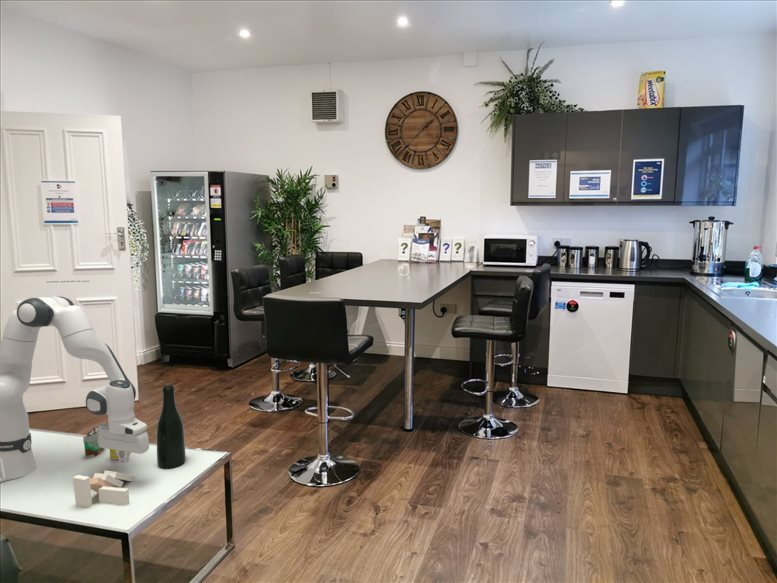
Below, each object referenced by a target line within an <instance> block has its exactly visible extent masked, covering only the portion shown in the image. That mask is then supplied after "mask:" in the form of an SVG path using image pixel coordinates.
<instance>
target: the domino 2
mask: <svg viewBox="0 0 777 583" xmlns="http://www.w3.org/2000/svg"><path fill="white" fill-rule="evenodd" d="M90 486H91V491H93V492H96V493H97V494H99V492H98V489H99V488H100V487H102V486H105V487H113V484H111V483H109V482H107V481H105V480H103V479H101V478H99V477H96V478H93V477H90Z"/></svg>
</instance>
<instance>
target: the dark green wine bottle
mask: <svg viewBox="0 0 777 583" xmlns="http://www.w3.org/2000/svg"><path fill="white" fill-rule="evenodd" d="M161 390H162V391H161V392H162V406H161V411H160V414H159V418H158V421H157V423H156V436H155V437H156V463H157V468H159V469H161V470H172V469H173V470H174V469H176V468H179V467H182V466H183V465H185V463H186V462H187V458H186V441H185V427H184V422H183V419H182V417H181V415H180V413H179V411H178V408H177V403H176V398H175V397H176V395H175V392H176V391H175V386H174V384H173V383H172V382H166V383H164V384H163V387H162V389H161Z"/></svg>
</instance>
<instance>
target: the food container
mask: <svg viewBox="0 0 777 583" xmlns="http://www.w3.org/2000/svg"><path fill="white" fill-rule="evenodd" d="M98 433H99V426H96V425H95V426H92V430H91V431H89V432H88V433H87V435H86V436H83V439H82V440H83V441H82V442H83V445H84V453H85V454H84V456H85V459H90V458H94V457H96V456H97V457H98V456H99V455H101V454H102V453H103V452H104V448H100V447H99V445H98ZM102 451H103V452H102ZM101 452H102V453H101ZM100 453H101V454H100ZM98 454H99V455H98Z"/></svg>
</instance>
